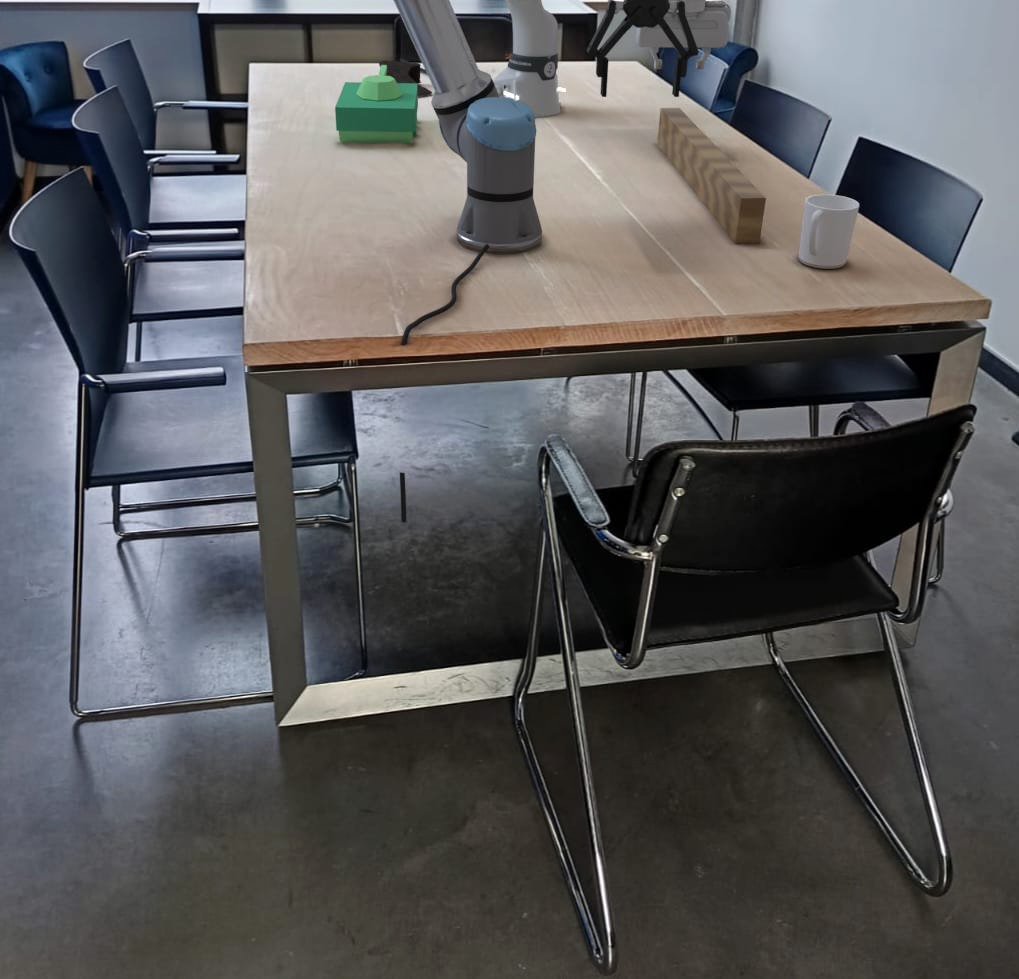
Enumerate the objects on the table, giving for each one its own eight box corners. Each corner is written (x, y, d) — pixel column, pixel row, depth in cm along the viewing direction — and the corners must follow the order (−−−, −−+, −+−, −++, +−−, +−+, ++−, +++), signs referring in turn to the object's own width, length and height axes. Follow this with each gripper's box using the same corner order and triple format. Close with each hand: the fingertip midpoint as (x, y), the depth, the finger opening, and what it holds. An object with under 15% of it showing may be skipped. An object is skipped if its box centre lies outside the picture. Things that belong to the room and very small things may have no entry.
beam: (759, 243, 197) (766, 198, 193) (735, 243, 197) (741, 198, 193) (676, 144, 257) (679, 107, 253) (657, 144, 257) (660, 107, 252)
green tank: (418, 61, 273) (414, 91, 243) (418, 112, 279) (415, 147, 249) (346, 59, 272) (334, 89, 242) (349, 110, 278) (337, 146, 249)
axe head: (443, 87, 294) (392, 77, 287) (436, 115, 299) (385, 106, 292) (421, 62, 307) (371, 52, 300) (414, 89, 311) (365, 80, 304)
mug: (809, 248, 195) (819, 191, 189) (856, 260, 190) (868, 201, 185) (780, 264, 188) (790, 205, 182) (829, 277, 183) (840, 216, 177)
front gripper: (713, -32, 197) (701, 91, 208) (576, -33, 196) (570, 91, 207) (723, -27, 191) (709, 99, 202) (580, -28, 189) (575, 99, 200)
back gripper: (728, -1, 240) (720, 66, 247) (636, -2, 238) (631, 65, 245) (736, 3, 234) (728, 71, 241) (641, 2, 232) (636, 71, 240)
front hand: (639, 95), depth 204 cm, fingers open, 13 cm apart
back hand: (678, 68), depth 243 cm, fingers open, 8 cm apart
